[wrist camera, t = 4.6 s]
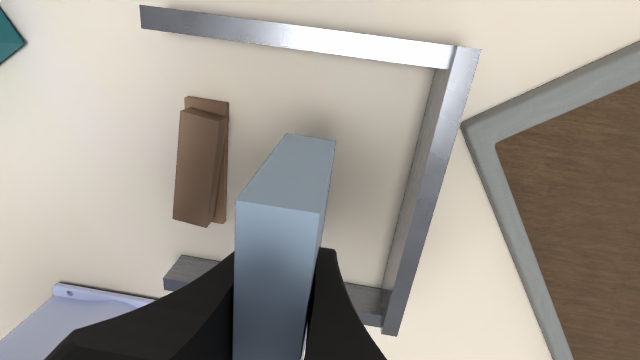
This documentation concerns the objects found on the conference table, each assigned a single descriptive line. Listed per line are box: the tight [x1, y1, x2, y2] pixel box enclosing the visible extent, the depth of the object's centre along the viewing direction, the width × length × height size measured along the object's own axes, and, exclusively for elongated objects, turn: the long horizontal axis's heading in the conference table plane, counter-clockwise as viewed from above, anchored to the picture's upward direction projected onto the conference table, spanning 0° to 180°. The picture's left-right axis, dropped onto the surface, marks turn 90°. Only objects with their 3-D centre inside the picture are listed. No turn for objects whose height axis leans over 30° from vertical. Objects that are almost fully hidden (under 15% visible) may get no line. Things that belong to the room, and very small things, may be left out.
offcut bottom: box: [185, 96, 229, 224], centre depth 21 cm, size 2×8×1 cm, turn 172°
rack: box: [139, 5, 481, 337], centre depth 19 cm, size 16×17×3 cm
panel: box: [233, 133, 336, 360], centre depth 12 cm, size 2×9×6 cm, turn 173°
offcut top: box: [173, 107, 227, 228], centre depth 20 cm, size 2×7×1 cm, turn 166°
